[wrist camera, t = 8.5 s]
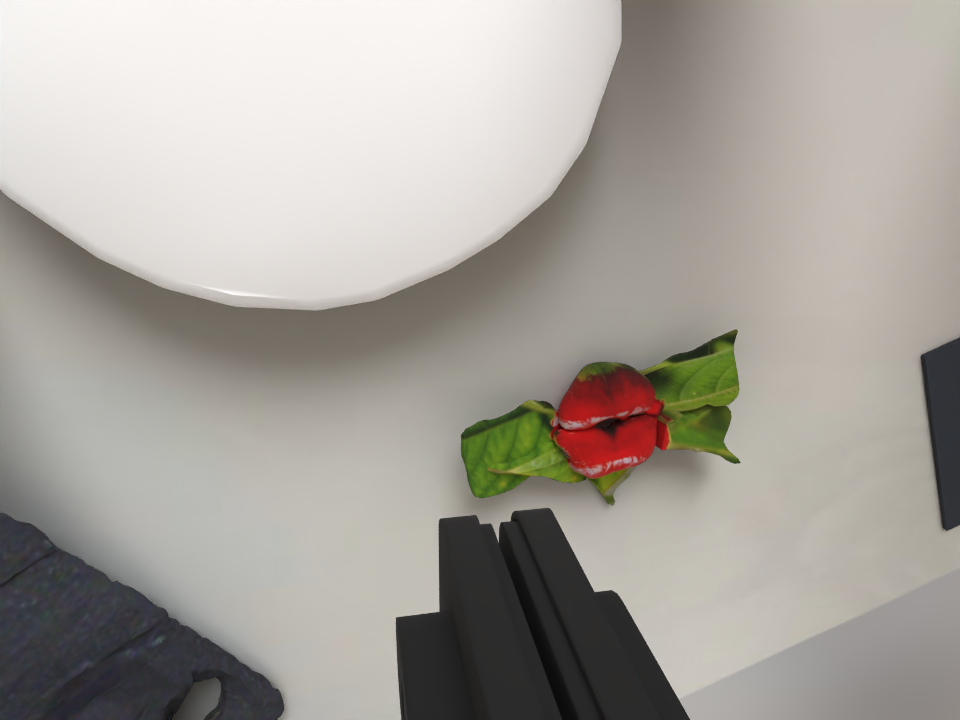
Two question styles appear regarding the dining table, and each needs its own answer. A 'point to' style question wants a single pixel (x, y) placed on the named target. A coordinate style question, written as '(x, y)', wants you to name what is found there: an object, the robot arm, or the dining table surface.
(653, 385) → the decorative ornament
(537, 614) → the robot arm
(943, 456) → the mat
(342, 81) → the plate
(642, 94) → the dining table surface
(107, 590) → the dark slate chunk
